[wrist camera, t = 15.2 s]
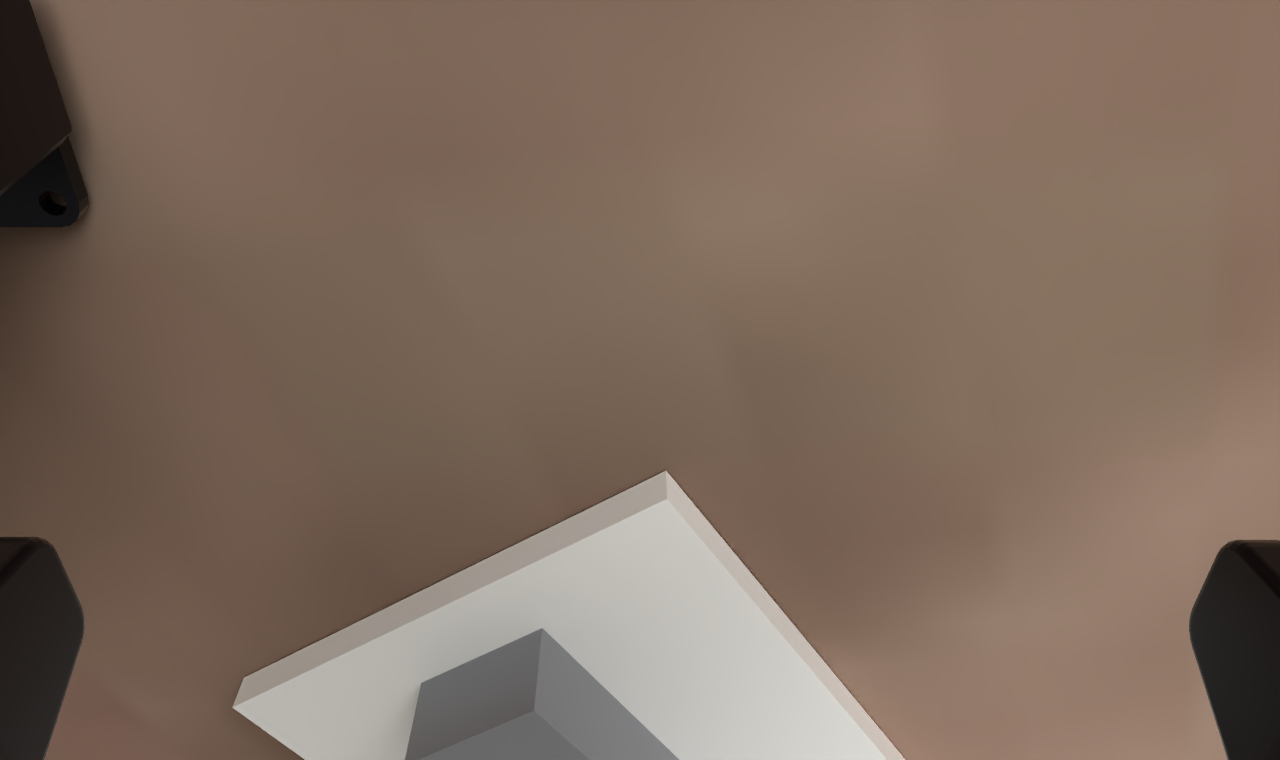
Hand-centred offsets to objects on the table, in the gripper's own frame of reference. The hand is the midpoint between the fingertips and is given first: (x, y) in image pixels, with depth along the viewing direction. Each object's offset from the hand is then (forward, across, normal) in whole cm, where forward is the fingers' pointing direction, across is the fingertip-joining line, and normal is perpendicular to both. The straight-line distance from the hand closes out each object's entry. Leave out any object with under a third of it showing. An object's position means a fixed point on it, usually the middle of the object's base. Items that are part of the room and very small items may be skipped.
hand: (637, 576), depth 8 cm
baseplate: (+13, -1, +23) cm, 26 cm away
